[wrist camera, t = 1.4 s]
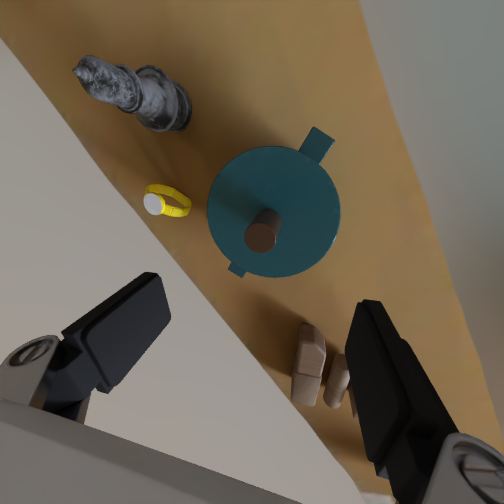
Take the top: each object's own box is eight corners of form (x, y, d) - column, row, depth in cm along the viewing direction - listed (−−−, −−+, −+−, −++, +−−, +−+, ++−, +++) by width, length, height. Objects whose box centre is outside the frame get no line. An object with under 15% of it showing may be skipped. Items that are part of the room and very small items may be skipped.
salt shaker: (157, 66, 23) (33, -13, 12) (200, 95, 23) (115, 42, 12) (146, 119, 25) (37, 93, 15) (184, 144, 26) (104, 135, 15)
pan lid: (194, 234, 25) (165, 255, 20) (245, 115, 18) (221, 97, 13) (287, 291, 26) (283, 327, 20) (371, 197, 19) (400, 213, 13)
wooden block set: (289, 410, 37) (299, 347, 29) (291, 380, 42) (299, 320, 34) (387, 436, 34) (428, 372, 26) (376, 400, 39) (408, 338, 31)
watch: (200, 199, 29) (177, 209, 23) (193, 215, 30) (171, 227, 25) (165, 177, 28) (135, 181, 23) (160, 193, 30) (130, 201, 24)
